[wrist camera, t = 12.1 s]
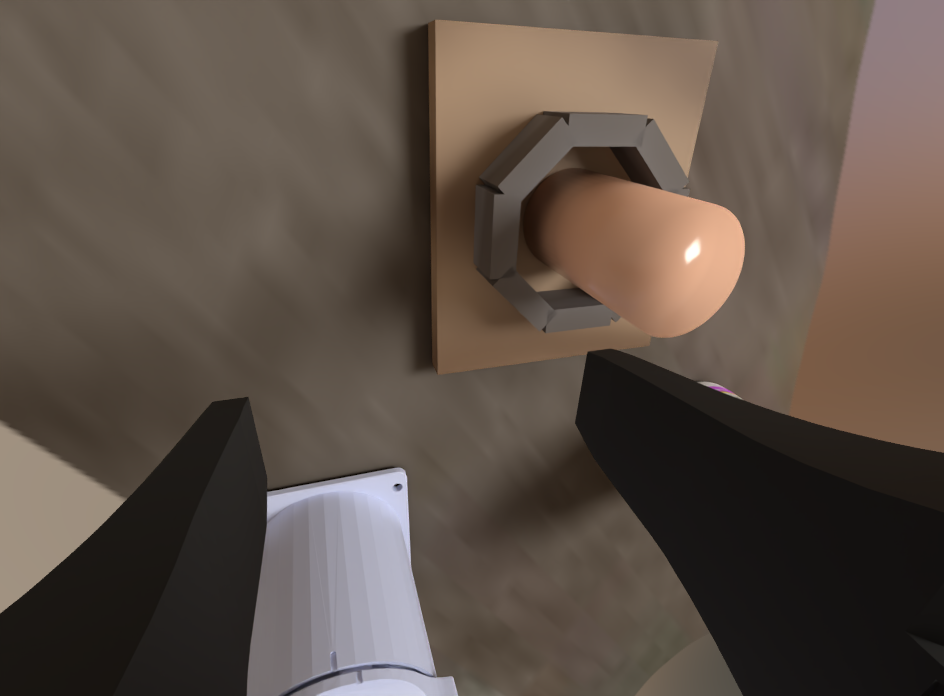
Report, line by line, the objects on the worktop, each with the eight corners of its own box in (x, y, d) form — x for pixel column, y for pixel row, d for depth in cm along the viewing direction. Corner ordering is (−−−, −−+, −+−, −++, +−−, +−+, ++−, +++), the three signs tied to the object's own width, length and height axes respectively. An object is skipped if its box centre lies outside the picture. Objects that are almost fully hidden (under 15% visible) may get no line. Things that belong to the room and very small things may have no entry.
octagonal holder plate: (637, 337, 25) (675, 364, 23) (432, 363, 22) (449, 399, 19) (699, 43, 19) (761, 36, 16) (428, 23, 16) (452, 11, 13)
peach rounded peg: (603, 262, 21) (723, 329, 15) (520, 270, 20) (615, 345, 14) (618, 166, 19) (761, 200, 13) (527, 169, 18) (640, 207, 12)
